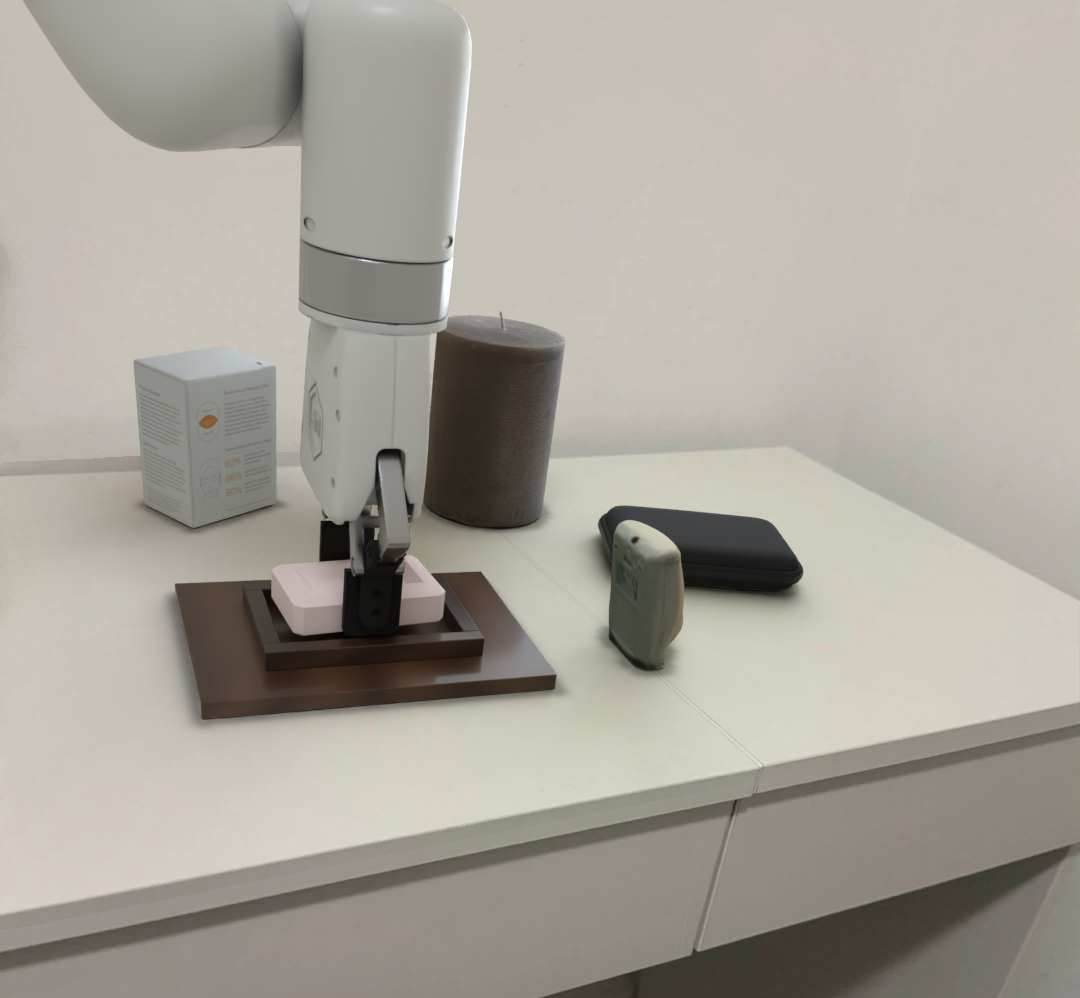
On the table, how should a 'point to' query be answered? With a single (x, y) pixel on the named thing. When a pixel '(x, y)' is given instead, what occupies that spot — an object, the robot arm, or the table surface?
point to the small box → (207, 433)
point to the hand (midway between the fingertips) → (357, 603)
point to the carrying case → (716, 547)
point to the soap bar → (318, 595)
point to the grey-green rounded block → (645, 594)
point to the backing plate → (350, 652)
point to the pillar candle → (492, 420)
